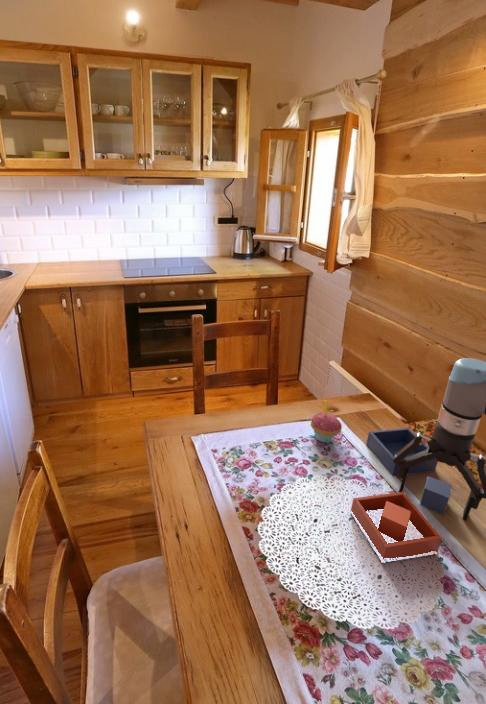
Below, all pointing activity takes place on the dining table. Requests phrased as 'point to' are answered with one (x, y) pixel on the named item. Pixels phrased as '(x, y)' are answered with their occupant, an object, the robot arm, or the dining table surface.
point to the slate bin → (397, 449)
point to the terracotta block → (394, 521)
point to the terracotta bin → (418, 520)
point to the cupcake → (325, 425)
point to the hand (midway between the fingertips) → (431, 502)
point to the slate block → (435, 495)
